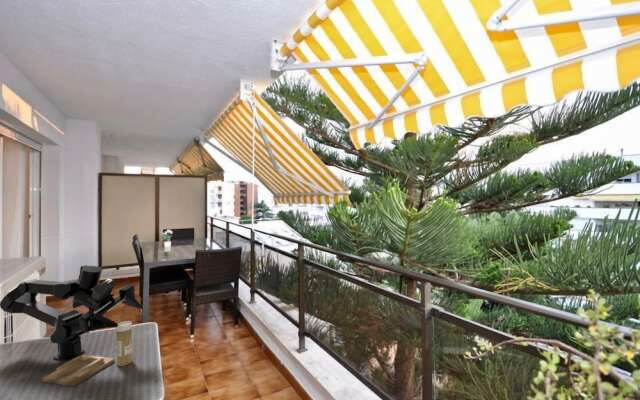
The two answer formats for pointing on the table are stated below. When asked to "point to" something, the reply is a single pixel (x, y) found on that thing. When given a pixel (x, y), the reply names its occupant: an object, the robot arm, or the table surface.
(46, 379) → the bottle cradle
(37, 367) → the table surface
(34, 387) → the table surface
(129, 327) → the sprinkles bottle
